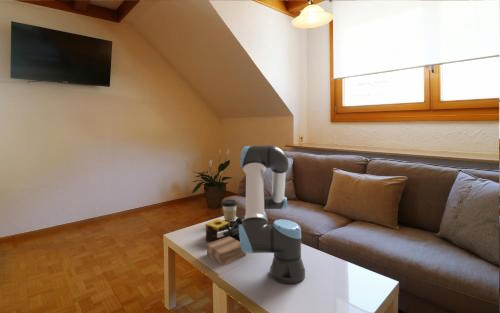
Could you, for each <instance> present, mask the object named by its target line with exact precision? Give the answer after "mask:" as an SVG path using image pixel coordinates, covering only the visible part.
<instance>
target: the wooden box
mask: <svg viewBox="0 0 500 313" xmlns="http://www.w3.org/2000/svg"><path fill="white" fill-rule="evenodd" d="M206 255H207V256H208V257H209V258H211V259H212V260H214V261H215V262H217V263H218V264H219V265H221V266H224V265H228V264H229V263H232V262H234V261H237V260H240V259H242V258H244V257H246V256H247V253H244V252H243V251H242V250H241V245H240V240H237V239H236V238H234V237H233V236H231V235H230V236H228V237H225V238H222V239H219V240H217V241H214V242H208V243H206Z"/></svg>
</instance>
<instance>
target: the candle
mask: <svg viewBox="0 0 500 313" xmlns="http://www.w3.org/2000/svg"><path fill="white" fill-rule="evenodd" d="M229 224H230V223H229V222H226V221H223V220H222V219H219V218H216V219H214V220H212V221H209V222H208V223H205V238H206V239H205V241H206V242H208V243H211V242H214V241H217V240H219V239H222V238H225V237H228V236H230V237H231V235H226V236H222V237H219V238H218V237H217V232H221V231H224V230H228V231H229V229H231V227H230V225H229Z"/></svg>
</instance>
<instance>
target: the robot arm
mask: <svg viewBox="0 0 500 313" xmlns="http://www.w3.org/2000/svg"><path fill="white" fill-rule="evenodd" d="M239 162H240V164H239V165H240V166H239V167H240V168H241V169H242V170H243V172H244V173H245V215H242V216H238V217H237V218H235V221H232V219H230V220H225V219H224V220H223V221H226V222H229V223H230V225H229V226H230V229H229V231H228V230H224V231H221V232H217V237H218V238H219V237H222V236H226V235H230V236H231V237H234V236H235V235H237V234H238V236H239V237H238V238H239V242H240V245H241V250H242V251H243V252H244V253H246V254H264V253H265V254H273V259H272V262H271V265H270V268H269V275H270V277H271V279H272V280H274V281H276V282H278V283H279V284H283V285H294V284H298V283H301V282H302V281H303V280H304V279H305V278H306V269H305V266H304V265H305V264H304V263H303V260H302V228H301V226H300V225H299V224H298V223H296V222H295V221H292V220H288V219H281V218H279V219H275V220H274V221H273V223H272V224H269V220H268V216H267V213H266V212H265V210H286V209H287V208H288V198H287V197H286V196H285V191H286V190H285V189H286V178H287V176H286V175H287V172H288V170H289V159H288V156H287V155H286V153H285V152H284V151H283V150H282V149H281V148H280V147H278V146H276V145H247V146H246V145H245V146H244V147H242V150H241V153H240V161H239ZM267 169H270V170H271V171H272V172H271V174H272V175H271V196H265V194H264V193H265V187H264V186H265V185H264V184H265V182H264V173H265V172H266V171H267Z"/></svg>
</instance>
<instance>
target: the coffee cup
mask: <svg viewBox="0 0 500 313" xmlns="http://www.w3.org/2000/svg"><path fill="white" fill-rule="evenodd" d="M237 206H238V203H237V201H236V200H235V199H225V200H223V201H222V211H223V217H224V220H230V219H232V221H236V219H237V218H236V217H237ZM229 226H230V224H229Z"/></svg>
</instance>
